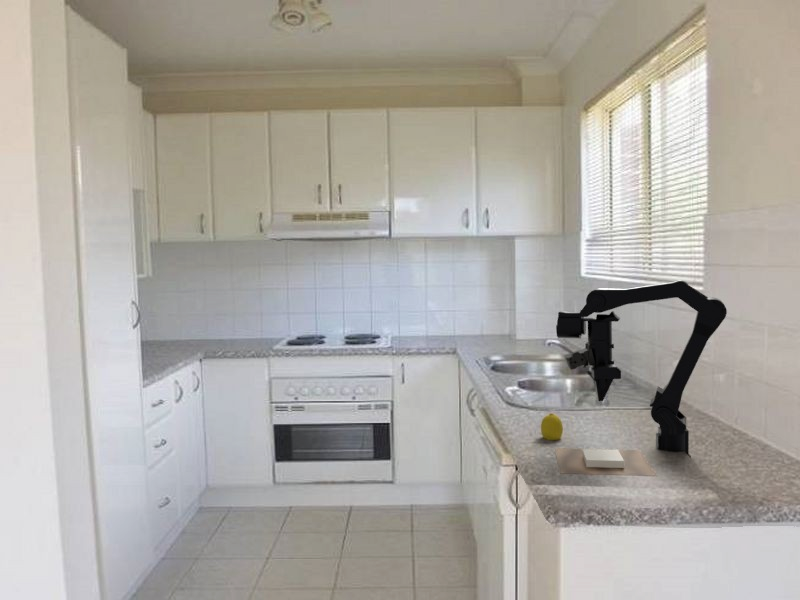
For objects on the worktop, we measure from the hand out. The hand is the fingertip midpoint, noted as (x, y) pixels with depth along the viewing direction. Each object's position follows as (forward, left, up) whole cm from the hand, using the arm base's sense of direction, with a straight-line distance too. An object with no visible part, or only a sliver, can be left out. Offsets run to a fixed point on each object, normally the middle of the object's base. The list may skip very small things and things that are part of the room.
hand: (600, 400), depth 159 cm
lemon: (+12, -3, -12) cm, 17 cm away
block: (+2, +12, -10) cm, 16 cm away
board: (+2, +15, -12) cm, 19 cm away
